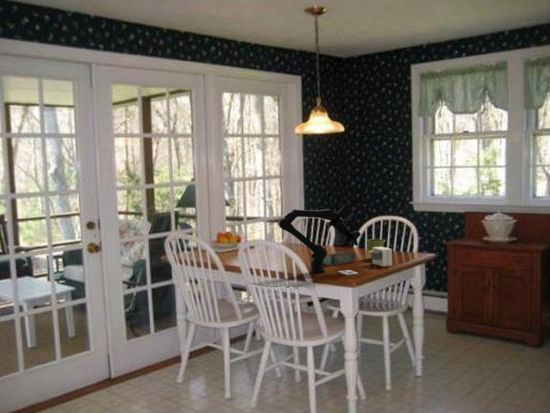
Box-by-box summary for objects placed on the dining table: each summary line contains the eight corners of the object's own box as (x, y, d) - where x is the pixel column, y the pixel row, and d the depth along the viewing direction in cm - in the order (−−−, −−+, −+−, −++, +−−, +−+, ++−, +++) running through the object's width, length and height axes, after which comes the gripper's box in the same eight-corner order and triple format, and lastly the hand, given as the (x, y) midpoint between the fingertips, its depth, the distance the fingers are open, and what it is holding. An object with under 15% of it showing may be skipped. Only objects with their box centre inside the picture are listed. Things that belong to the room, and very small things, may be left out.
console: (383, 266, 323) (382, 250, 322) (372, 263, 333) (372, 247, 333) (392, 265, 325) (391, 249, 325) (381, 262, 336) (381, 246, 335)
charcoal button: (375, 260, 322) (375, 253, 322) (372, 259, 326) (372, 252, 325) (382, 259, 324) (382, 252, 324) (379, 258, 327) (378, 251, 327)
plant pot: (385, 260, 343) (385, 241, 342) (365, 260, 345) (365, 241, 344) (385, 256, 354) (385, 238, 353) (366, 256, 357) (366, 238, 356)
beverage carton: (322, 264, 337) (322, 253, 337) (347, 260, 348) (346, 249, 347) (331, 266, 331) (330, 255, 330) (355, 262, 341) (355, 251, 341)
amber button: (370, 258, 327) (370, 251, 327) (367, 257, 331) (367, 250, 330) (377, 257, 329) (377, 250, 329) (374, 256, 332) (373, 250, 332)
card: (346, 275, 303) (346, 273, 303) (338, 271, 312) (337, 270, 312) (358, 273, 306) (358, 272, 306) (349, 270, 315) (349, 269, 315)
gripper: (322, 235, 321) (340, 253, 326) (339, 239, 304) (357, 258, 309) (335, 221, 324) (351, 239, 329) (352, 223, 307) (369, 242, 311)
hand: (357, 245), depth 319 cm, fingers closed
